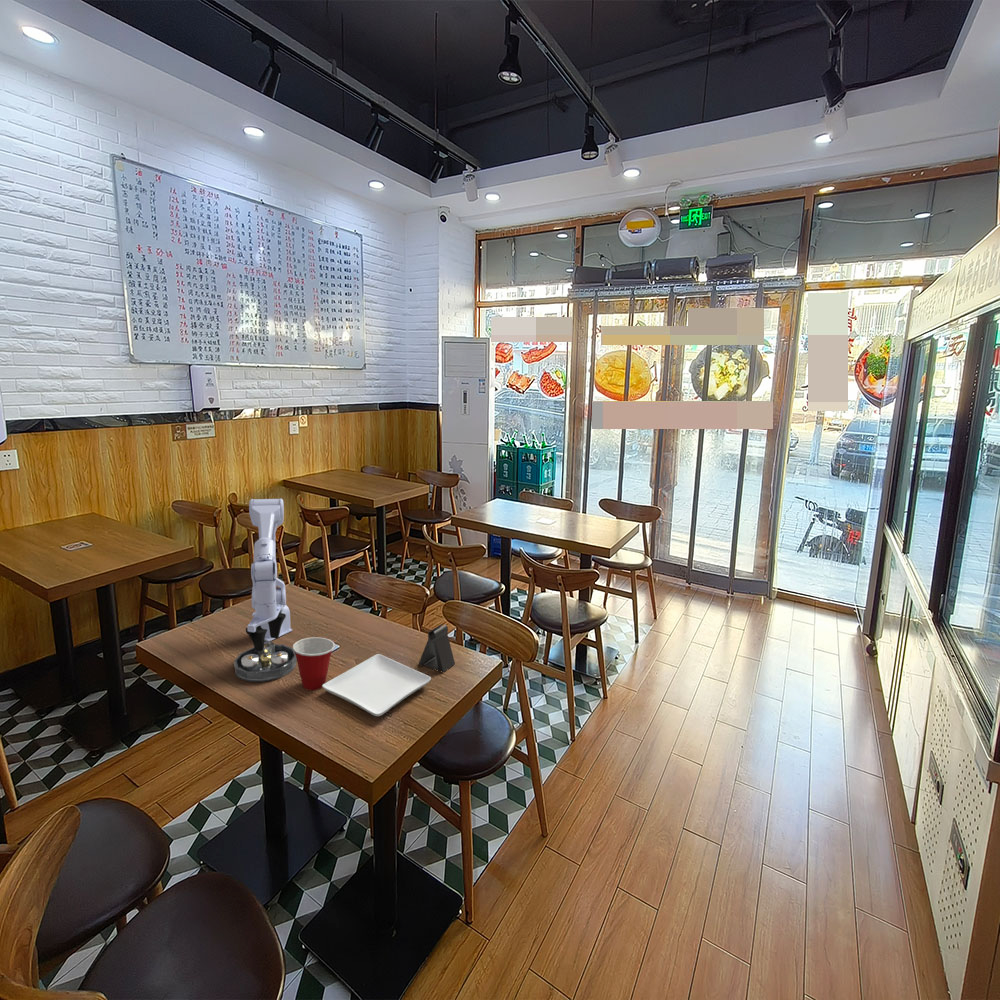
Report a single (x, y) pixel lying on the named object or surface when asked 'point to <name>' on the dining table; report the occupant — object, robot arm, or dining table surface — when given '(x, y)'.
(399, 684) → the salad plate
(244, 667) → the carrier
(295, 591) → the dining table surface
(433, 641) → the phone stand
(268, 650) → the octagonal tube
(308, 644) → the plastic cup
